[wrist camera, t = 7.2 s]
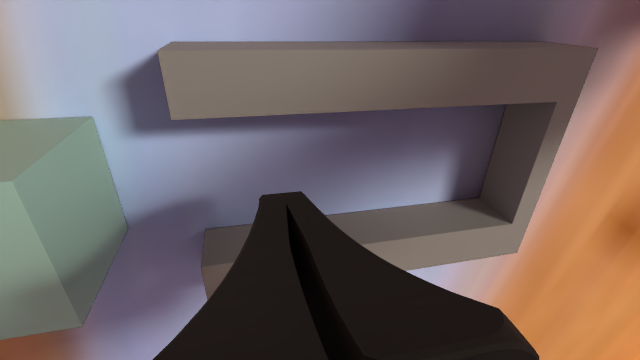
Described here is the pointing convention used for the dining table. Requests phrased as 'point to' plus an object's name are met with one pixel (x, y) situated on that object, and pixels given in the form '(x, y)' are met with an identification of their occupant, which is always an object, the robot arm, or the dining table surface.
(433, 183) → the dining table surface
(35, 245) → the block
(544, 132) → the chute
